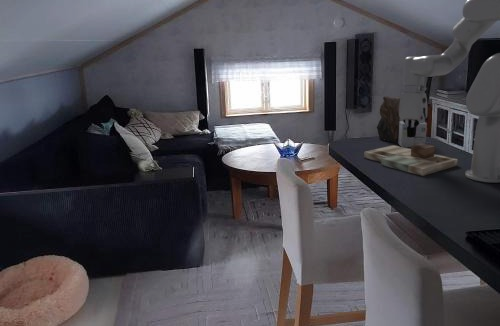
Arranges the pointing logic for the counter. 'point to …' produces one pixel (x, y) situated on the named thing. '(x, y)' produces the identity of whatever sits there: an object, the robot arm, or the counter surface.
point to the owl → (389, 119)
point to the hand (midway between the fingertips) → (411, 136)
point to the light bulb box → (408, 141)
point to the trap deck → (409, 160)
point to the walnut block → (422, 151)
